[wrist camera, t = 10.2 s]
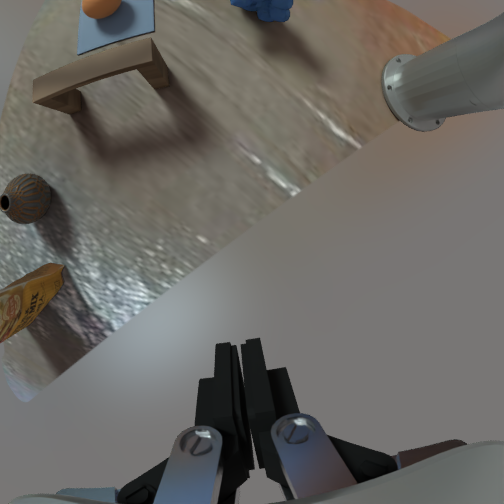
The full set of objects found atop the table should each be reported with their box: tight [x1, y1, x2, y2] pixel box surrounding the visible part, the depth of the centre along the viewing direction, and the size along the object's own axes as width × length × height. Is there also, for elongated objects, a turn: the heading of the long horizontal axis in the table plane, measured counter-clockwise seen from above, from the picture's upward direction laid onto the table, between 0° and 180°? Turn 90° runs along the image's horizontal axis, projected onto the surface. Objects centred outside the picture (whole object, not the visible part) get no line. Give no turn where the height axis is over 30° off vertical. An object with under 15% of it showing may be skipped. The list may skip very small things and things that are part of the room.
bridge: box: [33, 38, 169, 114], centre depth 28 cm, size 3×15×10 cm, turn 98°
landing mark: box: [77, 0, 154, 55], centre depth 29 cm, size 12×12×1 cm
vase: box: [0, 174, 51, 224], centre depth 31 cm, size 7×7×9 cm
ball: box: [82, 0, 122, 19], centre depth 26 cm, size 6×6×6 cm
